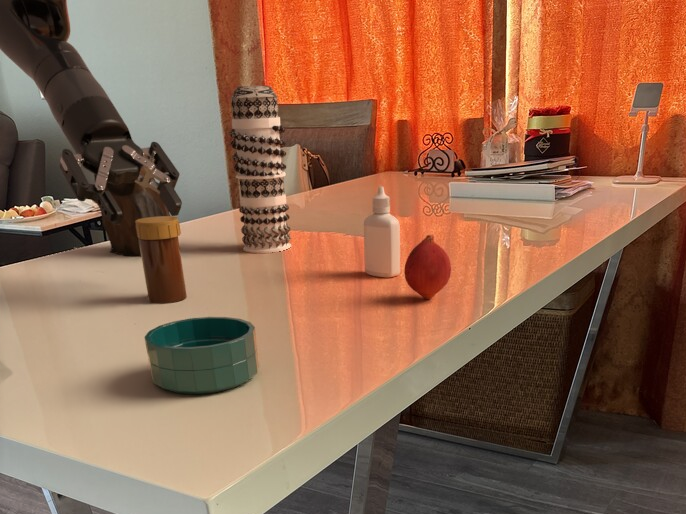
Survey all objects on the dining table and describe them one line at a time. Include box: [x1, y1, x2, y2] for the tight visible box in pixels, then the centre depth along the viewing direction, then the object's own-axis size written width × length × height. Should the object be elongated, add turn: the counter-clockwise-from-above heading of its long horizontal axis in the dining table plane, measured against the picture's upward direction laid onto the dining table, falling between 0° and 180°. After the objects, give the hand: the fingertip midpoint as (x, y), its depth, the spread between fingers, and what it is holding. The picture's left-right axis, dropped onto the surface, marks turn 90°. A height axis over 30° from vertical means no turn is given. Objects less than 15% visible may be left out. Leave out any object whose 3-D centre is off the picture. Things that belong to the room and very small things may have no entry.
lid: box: [135, 215, 182, 240], centre depth 92 cm, size 5×5×2 cm
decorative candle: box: [228, 85, 292, 254], centre depth 120 cm, size 9×9×25 cm
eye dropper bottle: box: [363, 185, 401, 279], centre depth 102 cm, size 4×6×12 cm
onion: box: [403, 233, 452, 300], centre depth 89 cm, size 6×6×8 cm
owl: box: [93, 167, 171, 257], centre depth 123 cm, size 13×13×20 cm
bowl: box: [144, 316, 260, 395], centre depth 67 cm, size 10×10×4 cm
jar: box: [138, 236, 188, 304], centre depth 94 cm, size 5×5×10 cm
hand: (148, 216), depth 92 cm, fingers open, 8 cm apart
